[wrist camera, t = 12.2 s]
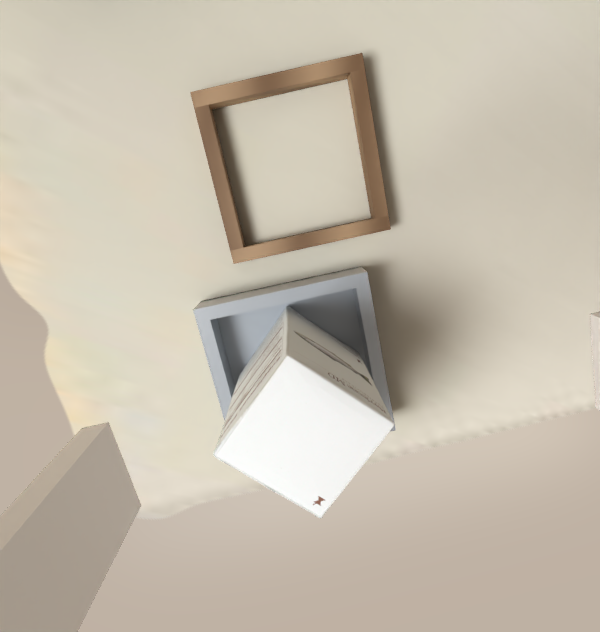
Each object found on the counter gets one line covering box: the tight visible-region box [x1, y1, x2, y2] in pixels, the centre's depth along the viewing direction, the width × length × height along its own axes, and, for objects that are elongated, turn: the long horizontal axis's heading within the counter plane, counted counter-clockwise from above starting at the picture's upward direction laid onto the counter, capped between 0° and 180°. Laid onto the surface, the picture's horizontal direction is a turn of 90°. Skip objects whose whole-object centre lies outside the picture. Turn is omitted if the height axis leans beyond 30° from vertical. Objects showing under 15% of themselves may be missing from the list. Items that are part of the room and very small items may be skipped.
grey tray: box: [193, 267, 395, 431], centre depth 34 cm, size 13×13×3 cm
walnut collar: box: [190, 53, 391, 264], centre depth 32 cm, size 12×12×2 cm
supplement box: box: [214, 306, 394, 518], centre depth 29 cm, size 7×7×13 cm
